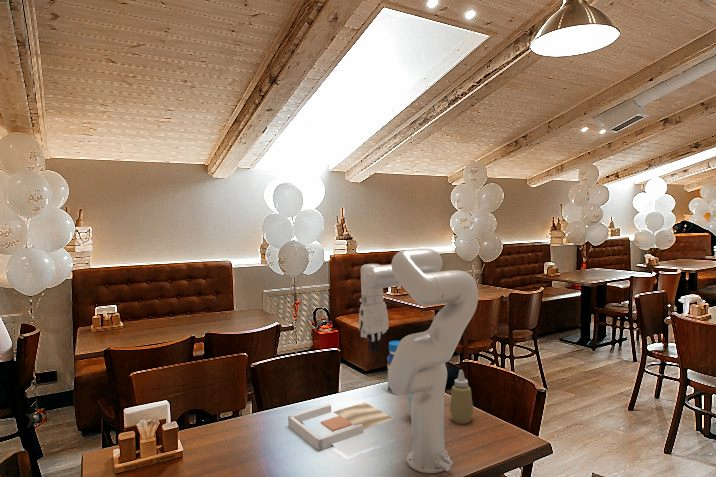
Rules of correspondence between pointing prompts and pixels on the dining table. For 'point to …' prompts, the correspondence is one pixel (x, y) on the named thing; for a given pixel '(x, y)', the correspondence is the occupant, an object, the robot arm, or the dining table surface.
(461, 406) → the squeeze bottle
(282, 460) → the dining table surface
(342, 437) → the box
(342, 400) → the dining table surface
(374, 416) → the beige square board
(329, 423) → the tile
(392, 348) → the beverage bottle
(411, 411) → the robot arm
